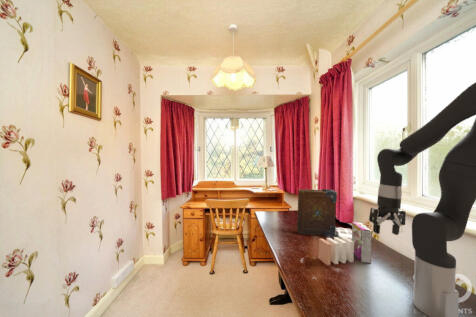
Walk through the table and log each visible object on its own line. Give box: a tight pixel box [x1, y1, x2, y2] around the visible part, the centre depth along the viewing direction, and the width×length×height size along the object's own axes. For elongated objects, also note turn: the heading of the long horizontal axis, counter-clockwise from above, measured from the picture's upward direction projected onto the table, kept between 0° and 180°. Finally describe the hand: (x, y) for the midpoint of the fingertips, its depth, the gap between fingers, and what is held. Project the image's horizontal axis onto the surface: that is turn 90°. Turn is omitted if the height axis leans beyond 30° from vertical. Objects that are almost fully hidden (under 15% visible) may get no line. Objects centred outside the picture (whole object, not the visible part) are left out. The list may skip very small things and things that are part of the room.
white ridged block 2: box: [333, 236, 347, 264], centre depth 89 cm, size 6×2×10 cm, turn 14°
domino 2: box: [325, 237, 339, 265], centre depth 88 cm, size 6×2×10 cm, turn 14°
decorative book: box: [296, 188, 338, 238], centre depth 119 cm, size 23×7×30 cm, turn 86°
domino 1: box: [318, 238, 332, 266], centre depth 87 cm, size 6×2×10 cm, turn 14°
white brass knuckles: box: [335, 227, 352, 240], centre depth 118 cm, size 3×18×15 cm
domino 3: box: [340, 237, 355, 263], centre depth 90 cm, size 6×2×10 cm, turn 14°
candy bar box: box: [351, 221, 373, 264], centre depth 92 cm, size 11×5×16 cm, turn 168°
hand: (385, 233), depth 75 cm, fingers open, 8 cm apart
